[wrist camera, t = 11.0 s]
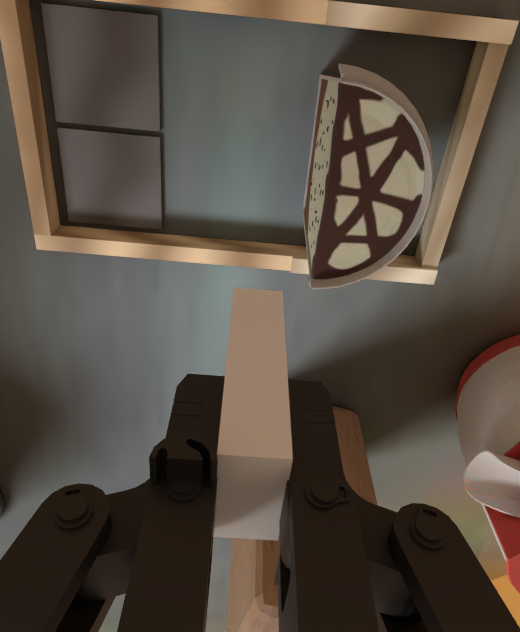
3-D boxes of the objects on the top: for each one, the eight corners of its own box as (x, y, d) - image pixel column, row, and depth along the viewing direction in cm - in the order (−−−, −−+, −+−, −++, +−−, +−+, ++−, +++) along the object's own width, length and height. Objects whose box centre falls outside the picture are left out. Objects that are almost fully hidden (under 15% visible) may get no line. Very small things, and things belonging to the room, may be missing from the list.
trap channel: (46, 238, 38) (35, 251, 37) (3, -35, 29) (-15, -37, 27) (425, 270, 40) (433, 284, 38) (502, 19, 30) (518, 21, 28)
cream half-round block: (379, 235, 38) (411, 303, 30) (300, 229, 38) (309, 296, 30) (419, 56, 31) (475, 79, 23) (323, 48, 31) (344, 68, 23)
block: (261, 386, 47) (259, 606, 30) (360, 407, 48) (411, 629, 31) (235, 455, 52) (221, 676, 35) (325, 473, 53) (352, 693, 37)
